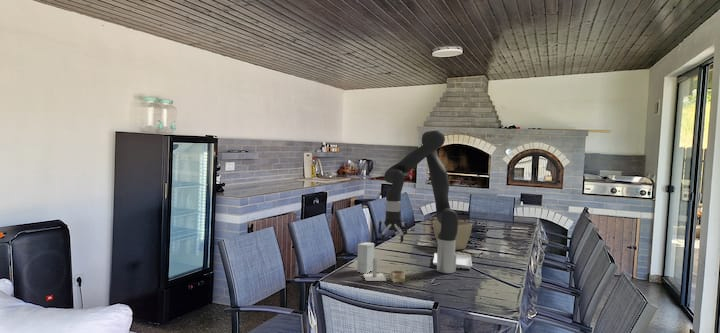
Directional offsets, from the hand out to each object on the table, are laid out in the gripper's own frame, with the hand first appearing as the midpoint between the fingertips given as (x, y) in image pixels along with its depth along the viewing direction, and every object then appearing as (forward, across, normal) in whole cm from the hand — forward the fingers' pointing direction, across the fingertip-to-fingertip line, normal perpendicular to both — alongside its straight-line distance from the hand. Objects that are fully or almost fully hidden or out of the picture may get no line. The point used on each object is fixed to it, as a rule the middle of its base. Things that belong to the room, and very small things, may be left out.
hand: (392, 242), depth 215 cm
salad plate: (+19, -34, -33) cm, 51 cm away
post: (+18, +8, +2) cm, 20 cm away
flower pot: (+19, -38, -72) cm, 84 cm away
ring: (+18, -3, +2) cm, 19 cm away
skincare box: (+18, +14, -9) cm, 25 cm away
